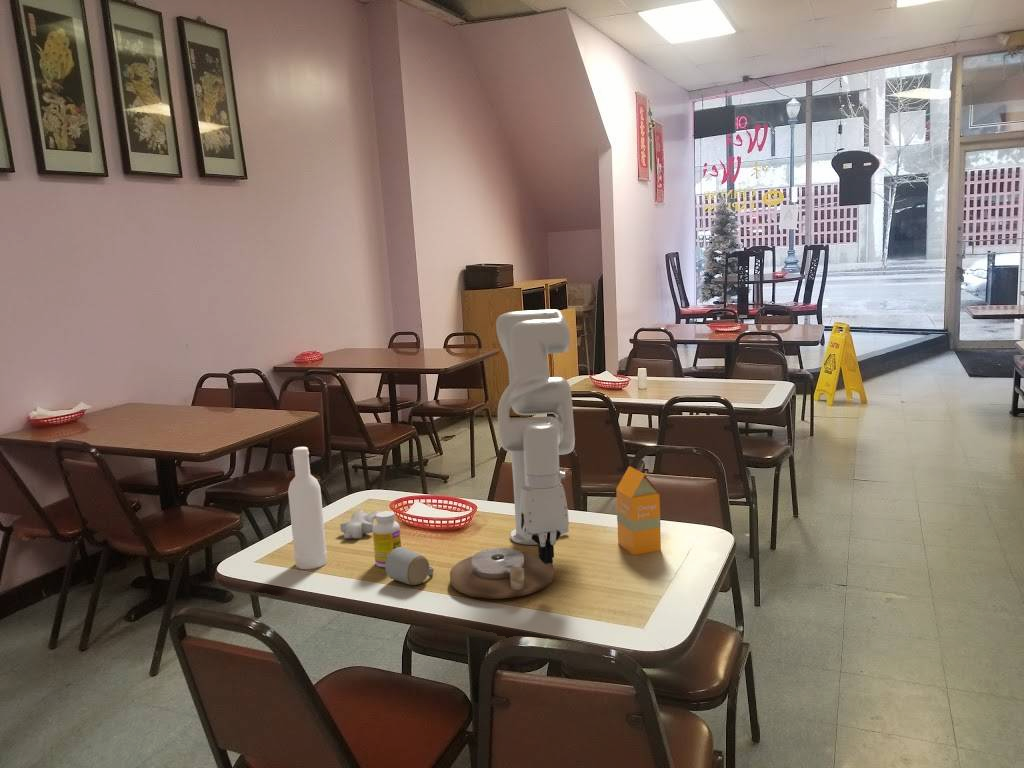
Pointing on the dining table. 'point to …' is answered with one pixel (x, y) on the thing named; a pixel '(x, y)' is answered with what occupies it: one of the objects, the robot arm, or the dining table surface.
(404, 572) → the ceramic mug
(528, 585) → the lazy susan
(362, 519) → the bunny figurine
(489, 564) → the steel cover
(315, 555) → the bottle
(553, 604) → the dining table surface
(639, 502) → the orange juice
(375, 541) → the supplement bottle
